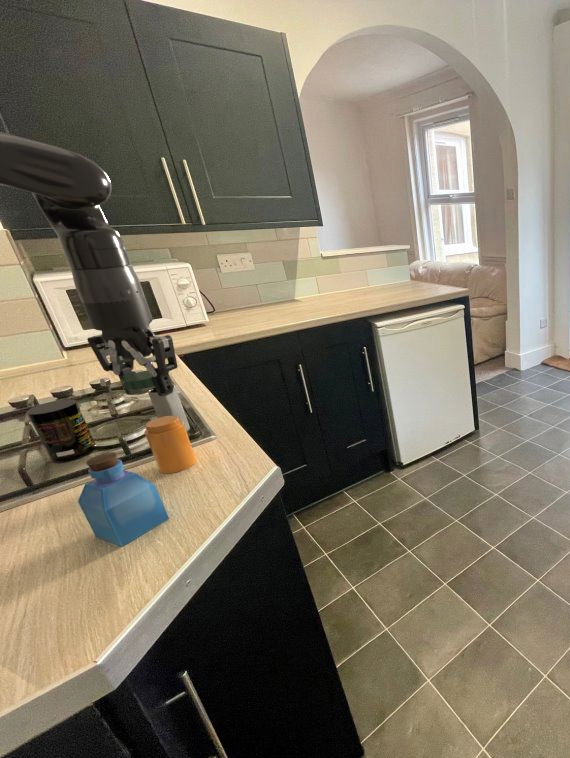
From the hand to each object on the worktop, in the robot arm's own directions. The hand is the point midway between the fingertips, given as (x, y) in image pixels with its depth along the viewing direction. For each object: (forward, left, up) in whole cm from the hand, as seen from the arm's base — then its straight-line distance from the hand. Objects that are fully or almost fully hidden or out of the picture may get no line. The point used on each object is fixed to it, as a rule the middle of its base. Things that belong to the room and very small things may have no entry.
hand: (150, 393), depth 72 cm
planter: (-9, +15, -15) cm, 23 cm away
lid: (0, 0, +3) cm, 3 cm away
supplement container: (-24, +8, -15) cm, 29 cm away
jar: (0, 0, -15) cm, 15 cm away
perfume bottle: (+4, -17, -15) cm, 23 cm away
